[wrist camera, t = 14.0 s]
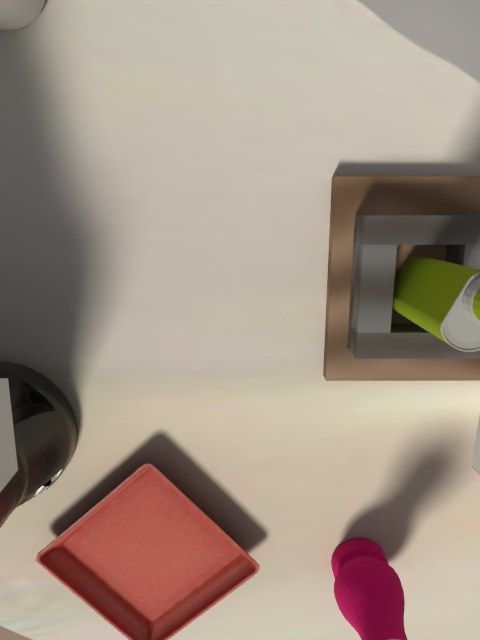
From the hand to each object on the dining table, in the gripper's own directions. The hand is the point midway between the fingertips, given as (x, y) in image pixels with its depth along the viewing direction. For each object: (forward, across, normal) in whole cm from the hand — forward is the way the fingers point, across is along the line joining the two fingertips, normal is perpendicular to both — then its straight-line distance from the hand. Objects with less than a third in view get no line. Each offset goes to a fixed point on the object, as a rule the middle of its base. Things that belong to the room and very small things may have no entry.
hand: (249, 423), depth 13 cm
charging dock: (+33, -18, +1) cm, 37 cm away
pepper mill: (+34, -15, +34) cm, 50 cm away
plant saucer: (+35, +9, +32) cm, 48 cm away
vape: (+32, -18, +1) cm, 36 cm away
